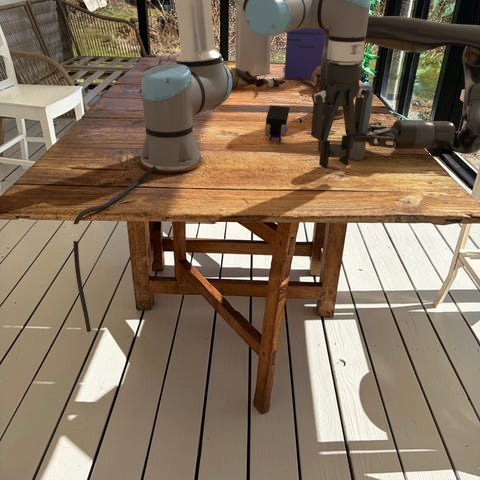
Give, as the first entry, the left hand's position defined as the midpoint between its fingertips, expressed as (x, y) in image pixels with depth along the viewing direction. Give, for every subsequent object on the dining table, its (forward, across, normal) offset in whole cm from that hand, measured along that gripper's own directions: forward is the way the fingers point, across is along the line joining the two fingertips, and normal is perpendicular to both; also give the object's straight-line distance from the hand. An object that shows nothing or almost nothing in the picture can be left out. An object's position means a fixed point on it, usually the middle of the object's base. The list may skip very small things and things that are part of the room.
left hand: (333, 164), depth 113 cm
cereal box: (+3, +45, +100) cm, 109 cm away
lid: (-4, 0, 0) cm, 4 cm away
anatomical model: (+4, +42, +80) cm, 91 cm away
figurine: (+3, +15, +91) cm, 93 cm away
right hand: (-2, +12, +13) cm, 17 cm away
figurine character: (+4, +1, +34) cm, 34 cm away
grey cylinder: (+4, +14, +12) cm, 19 cm away
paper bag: (+3, +28, +118) cm, 121 cm away
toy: (+2, +3, +137) cm, 137 cm away
